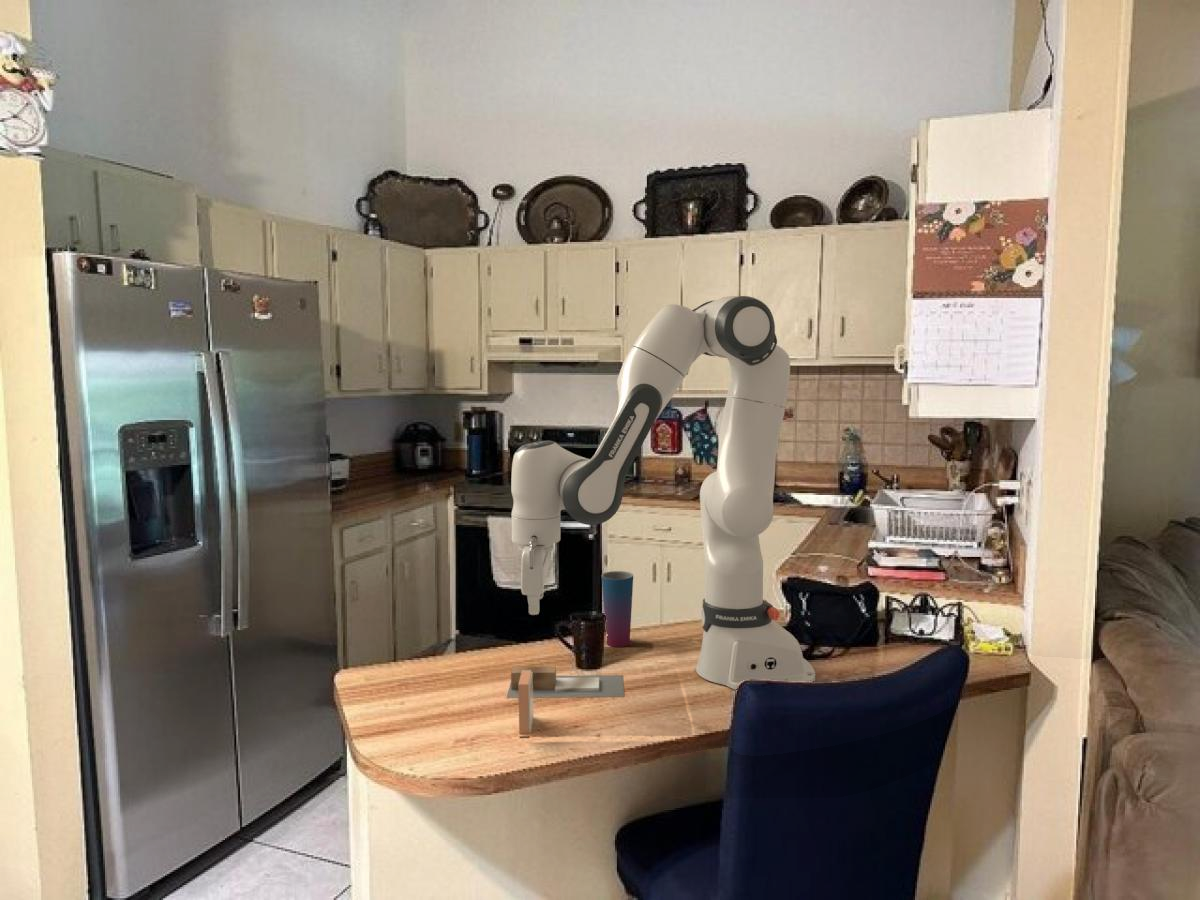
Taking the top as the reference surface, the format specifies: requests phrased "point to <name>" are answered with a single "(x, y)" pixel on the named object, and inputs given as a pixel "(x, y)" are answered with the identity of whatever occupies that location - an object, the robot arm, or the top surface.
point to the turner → (553, 680)
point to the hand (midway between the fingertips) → (536, 605)
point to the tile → (525, 702)
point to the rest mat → (607, 688)
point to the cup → (617, 606)
